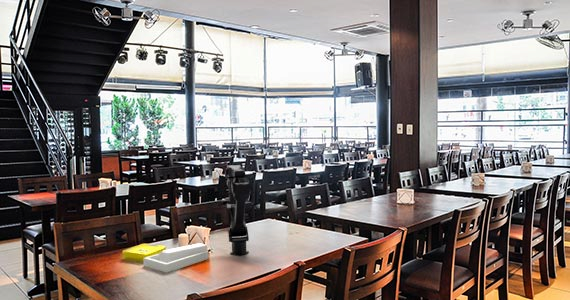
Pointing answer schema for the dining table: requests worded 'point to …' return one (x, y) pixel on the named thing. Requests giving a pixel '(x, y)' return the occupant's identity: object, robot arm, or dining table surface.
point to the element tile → (141, 252)
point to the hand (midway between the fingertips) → (235, 221)
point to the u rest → (174, 262)
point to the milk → (181, 252)
